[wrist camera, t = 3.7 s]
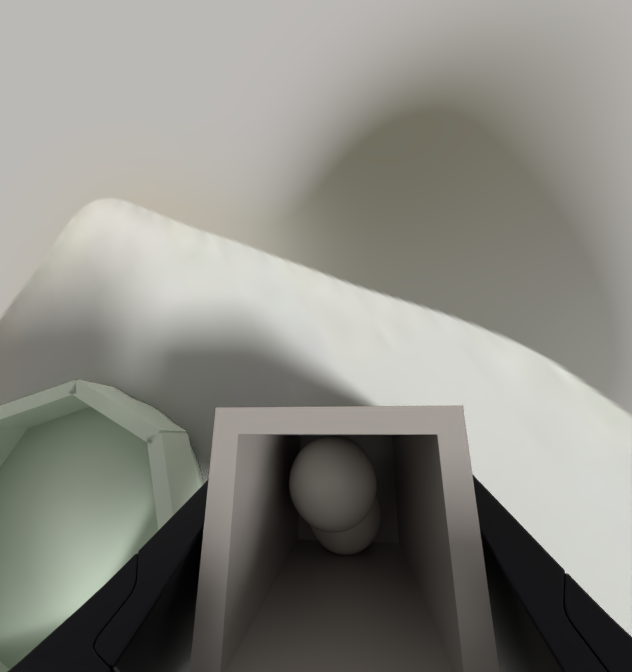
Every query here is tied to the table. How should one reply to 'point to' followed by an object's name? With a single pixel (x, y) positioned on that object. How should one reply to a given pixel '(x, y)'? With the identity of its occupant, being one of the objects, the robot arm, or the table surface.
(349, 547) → the pebble
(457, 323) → the table surface
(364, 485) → the pebble
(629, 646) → the robot arm
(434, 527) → the tumbler
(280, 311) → the table surface
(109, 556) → the dish
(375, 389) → the table surface
